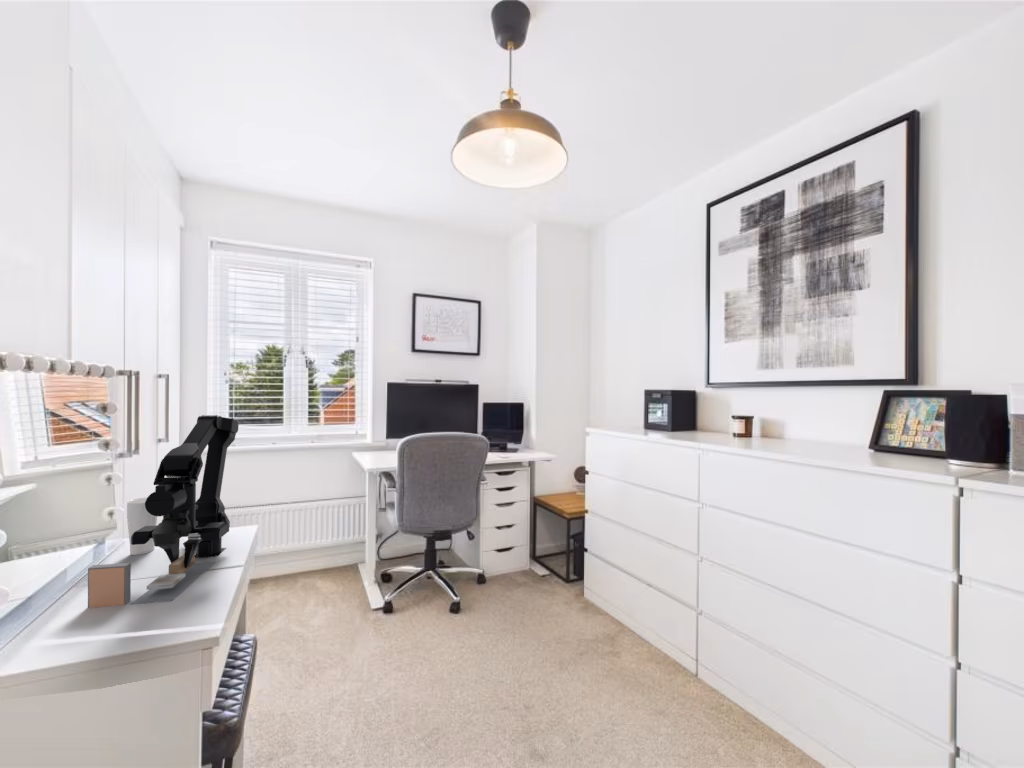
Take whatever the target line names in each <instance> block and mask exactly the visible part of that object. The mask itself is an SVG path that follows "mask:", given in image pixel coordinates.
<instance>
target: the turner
mask: <svg viewBox="0 0 1024 768" xmlns="http://www.w3.org/2000/svg"><path fill="white" fill-rule="evenodd" d="M195 554H196V553H194V555H193V557H192V559H191V562H190V564H189V566H188V567H187V568H185V566H184V557H185V552H184V553H183V554H182V555H179V558H178V559H176V560H175V561H174V562H172V563H171V562H170V563H169V564H168V574H161V575H159V576H158V577H157V578H155V579H154V580H153V581H151V582H150V583H149V584H147V585H146V590H147V591H148V590H151V589H164V588H172V587H174V586H175V585H176V584H177V583H178V582H179V581H181V580H182V579H183V578H184V577H185V573H184V572H185V571H186V570H187V569H189V568H190V567H191V566H192V565H193V564H195V563H196V562H195V560H196V558H195Z"/></svg>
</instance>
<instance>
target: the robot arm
mask: <svg viewBox="0 0 1024 768" xmlns="http://www.w3.org/2000/svg"><path fill="white" fill-rule="evenodd" d="M238 431H239V422H238V421H237V420H235V419H234V418H233V417H223V416H221V415H218V414H201V415H199V416H198V417H197V420H196V423H195V424H194V426H193V428H192V429H191V430H190V432H189V434H188V435H187V437H185V439H184V441H183V443H182V444H181V445H180V446H177V447H174V448H171V450H170V451H168V453H166V454H165V455H164V457H163V458H162V459H161V461H160V464H159V466H158V469H157V472H156V475H155V478H154V481H153V485H154V486H155V488H154V490H155V491H153V492H152V493H150V494H149V495H148V496H147V497H148V498H147V499H146V502H145V508H146V510H147V511H148V513H150V514H151V515H154V516H157V517H163V518H162V520H161V522H159V523H158V525H157V524H156V526H145V527H143V528H141V529H139V530H137V531H135V532H134V533H133V534H132V536H131V544H132V545H137V544H146V543H147V542H148V541H149V540H150V538H153V540H154V547H155V548H156V547H159V548H160V549H162V550H163V551H164V552H165V553H166V556H167V557H168V559H169V562H170V564H171V563H172V562H174V561H175V560H176V559H178V558H179V557H180V540H181V538H185V537H187V540H186V541H184V542H183V543H182V545H183V546H184V553H185V557H184V566H185V568H187V567H188V566H189V564H190V562H191V559H192V557H193V555H194V553H195V552H196V553H195V559H197V558H198V559H201V558H202V559H203V558H215V557H218V556H219V555H221V554H222V553H223V552H224V551H225V550H226V549H227V547H222V539H223V537H224V536H225V535H227V533H229V532H230V523H231V521H230V519H229V517H228V515H227V514H226V512H225V511H226V506H225V505H224V503H223V501H222V499H221V493H222V484H223V478H224V472H225V465H226V459H227V453H228V448H229V447H230V446H231V445H232V443H234V441H235V439H236V436H237V433H238ZM206 448H207V450H206V451H207V452H206V459H205V464H204V462H203V457H202V454H203V452H204V451H205V449H206ZM203 466H204V470H203V476H202V482H201V489H200V496H199V498H198V499H197V497H196V496H197V493H196V491H197V484H196V482H199V481H198V480H199V479H198V478H199V476H200V473H201V471H202V468H203Z"/></svg>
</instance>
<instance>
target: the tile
mask: <svg viewBox="0 0 1024 768" xmlns="http://www.w3.org/2000/svg"><path fill="white" fill-rule="evenodd" d="M131 564H132V563H131V562H125V563H108V564H107V563H106V564H95V565H94V564H93V565H92V566H90V567H88V568H87V609H88V608H101V607H102V608H103V607H104V608H105V607H116V606H124V605H127V604H128V603H130V602H131V596H132V594H131V591H132V590H131V587H132V586H131V575H132V571H131V570H132V568H131V567H132V565H131Z"/></svg>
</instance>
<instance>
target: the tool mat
mask: <svg viewBox="0 0 1024 768" xmlns="http://www.w3.org/2000/svg"><path fill="white" fill-rule="evenodd" d="M215 563H217V561H204V562H201V561H199V562H195V564H193V565H192V566H191V567H190V568H189V569H187V570H186V571H185V572H184V573H185V577H184V578H183V579H182V580H181V581H179V582H178V583H177V584H176V585H175V586H174V587H172V588H164V589H151V590H147V591H146V592H144V593H143V594H142V595H141V596H139V597H138V598H137V599H136V600H134V601H133V602H132V603H131V605H140V604H152V603H164V602H165V603H166V602H173V601H175V600H176V599H177V598H178V597H179V596H180V595H181V594H183V592H184V591H186V589H188V587H190V586H191V585H192V584H193V583H194V582H195V581H197V579H199V578H200V577H201V576H202V575H203V574H204V573H205V572H206V571H207V570H209V569H210V568H212V566H213V565H215Z"/></svg>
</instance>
